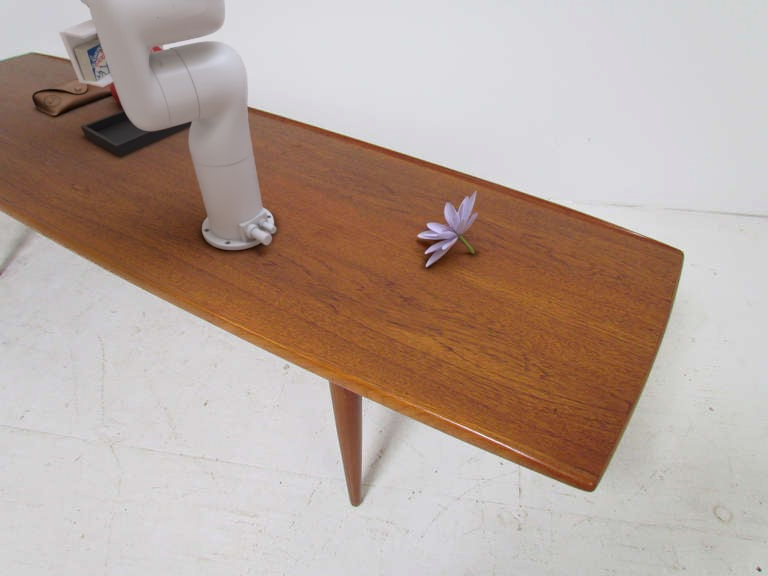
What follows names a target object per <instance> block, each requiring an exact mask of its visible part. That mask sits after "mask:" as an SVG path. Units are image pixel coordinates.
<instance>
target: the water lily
mask: <svg viewBox="0 0 768 576" xmlns="http://www.w3.org/2000/svg"><path fill="white" fill-rule="evenodd" d="M476 198H477V190H475V191H474V192H473V193H472V195H471V196H470V197H469V195H467V196H465V198H464V199H463V200H462V202H461V203H460V205H459V208H458V210H456V208H455V207H454V205H453V204H452V203H451V202H449V201H448V202H446V203H445V206H444V209H443V210H444V211H443V213H444V214H443V215H444V218H445V220H446V223H447V224H441V223H439V222H433V221H432V222H428V223H426V226H427V228H428V229H429V230H425V231H422V232H420V233H419V234H417V236H416V237H418V238H420V239H423V240H428V241H429V240H430V241H433V240H434V241H437V240H438V241H439V240H442V241H439V242H437V243H434V244H432V245H431V246H430V247H428V249H426V250H425V252H424V255H427V254H430V253H432V255H431V256H430V257H429V259H428V260H427V262H426V264H425V268H428V267H429V266H431V265H433V264H434V263H435V262H437V261H438V260H440V259H441V258H442V257H443V256H444V255H445V254H446V253H447V252H448V251H449V250H450V249H451V247H453V245H455V243H456V242H457V241H458V239H459V240H460V241H461V243H463V245H464V247H466V248H467V250H468V251H469V252H470V253H471V255H473V254H474V253H475V250H474V249H473V248H472V246H471V245H470V244H469V243H468V241H467V240H466V239H465V238H464V237H463V236H462V234H464V233H465V232H467V231H468V230H469V229H470V228H471V227H472V226H473V224H474V222H475V221H476V219H477V217H478V214H479V213H478V212H475V213H473V212H472V211H473V209H474V206H475V202H476ZM472 213H473V214H472ZM471 214H472V215H471ZM433 252H434V253H433Z"/></svg>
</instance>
